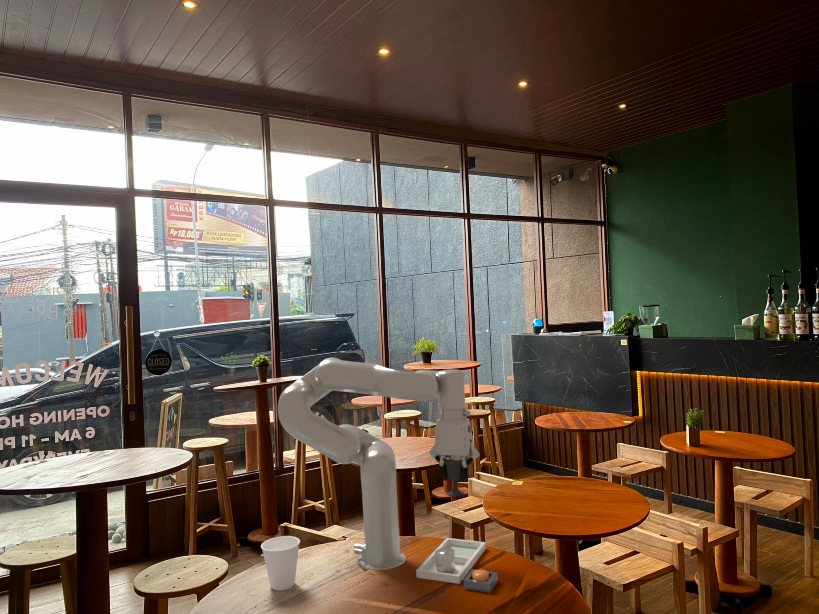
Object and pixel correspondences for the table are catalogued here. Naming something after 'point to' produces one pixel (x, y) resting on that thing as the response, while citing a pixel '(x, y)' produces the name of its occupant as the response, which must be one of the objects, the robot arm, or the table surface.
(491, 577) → the button housing
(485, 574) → the button cap
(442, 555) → the cylinder
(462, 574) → the shallow white tray
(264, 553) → the cup
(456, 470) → the sundae
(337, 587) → the table surface
